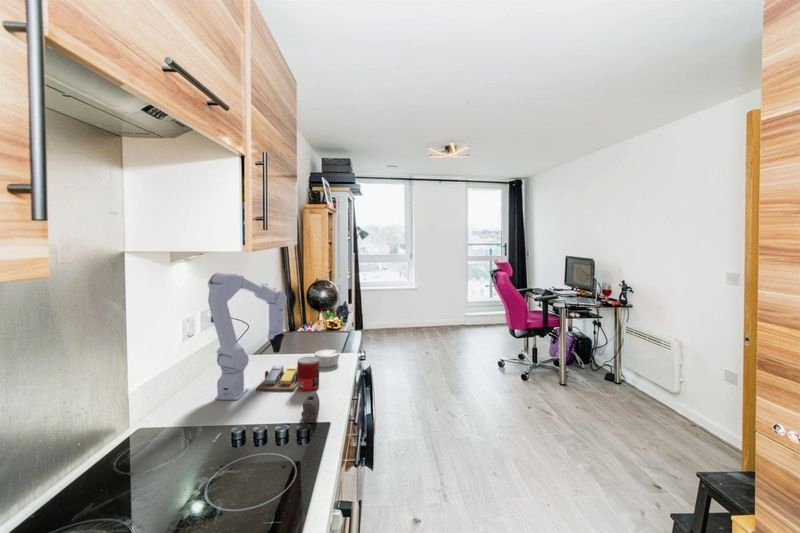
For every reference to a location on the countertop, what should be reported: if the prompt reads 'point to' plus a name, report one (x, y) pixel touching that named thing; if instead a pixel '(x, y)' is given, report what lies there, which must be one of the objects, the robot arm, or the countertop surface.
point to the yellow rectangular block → (289, 375)
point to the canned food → (308, 373)
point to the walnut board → (278, 384)
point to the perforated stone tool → (310, 407)
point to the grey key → (273, 374)
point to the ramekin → (327, 357)
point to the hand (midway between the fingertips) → (276, 352)
